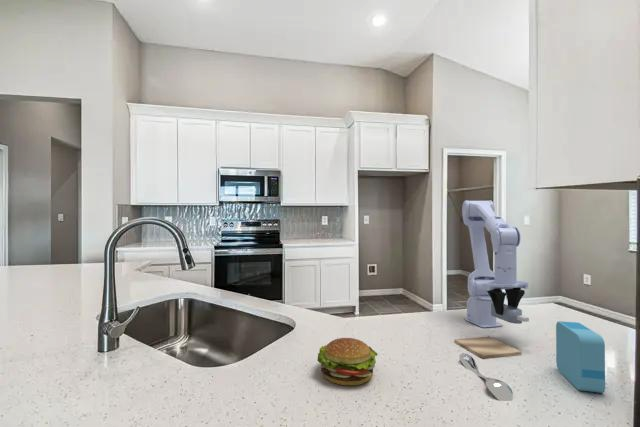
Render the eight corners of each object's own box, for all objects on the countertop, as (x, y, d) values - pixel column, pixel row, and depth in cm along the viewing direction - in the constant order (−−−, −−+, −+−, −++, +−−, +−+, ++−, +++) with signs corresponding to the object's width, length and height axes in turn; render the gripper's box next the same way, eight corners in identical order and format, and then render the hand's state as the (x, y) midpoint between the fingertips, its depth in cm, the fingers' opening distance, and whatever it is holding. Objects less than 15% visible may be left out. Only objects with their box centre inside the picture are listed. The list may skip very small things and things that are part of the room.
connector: (488, 314, 103) (487, 302, 103) (498, 313, 104) (498, 302, 104) (520, 326, 91) (520, 313, 91) (532, 325, 92) (532, 313, 92)
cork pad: (454, 342, 99) (454, 339, 99) (489, 339, 101) (489, 336, 101) (482, 358, 87) (482, 355, 87) (521, 354, 90) (521, 351, 90)
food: (381, 365, 83) (381, 333, 83) (371, 393, 70) (371, 355, 70) (328, 358, 88) (329, 327, 88) (309, 382, 74) (310, 346, 74)
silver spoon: (454, 345, 87) (472, 345, 87) (454, 358, 87) (472, 358, 87) (494, 389, 67) (518, 389, 67) (494, 407, 67) (517, 407, 67)
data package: (605, 396, 69) (605, 338, 69) (580, 393, 70) (579, 335, 70) (577, 370, 81) (576, 320, 81) (556, 368, 82) (555, 319, 82)
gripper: (494, 270, 94) (495, 319, 93) (536, 269, 97) (537, 315, 97) (477, 267, 100) (477, 312, 100) (517, 265, 104) (517, 309, 104)
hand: (505, 313), depth 99 cm, fingers closed on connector, 4 cm apart
